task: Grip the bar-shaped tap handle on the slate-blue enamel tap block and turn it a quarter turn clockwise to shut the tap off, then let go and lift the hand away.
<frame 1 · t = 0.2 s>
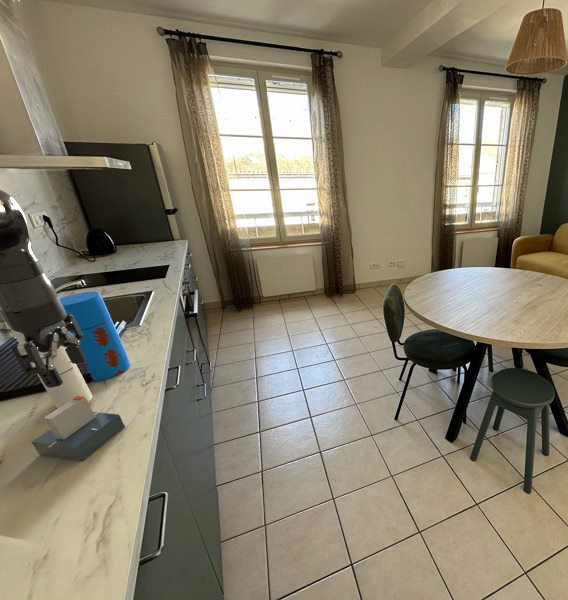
hand: (68, 373, 67), 20 cm above the worktop, tool pointing down, fingers open, 8 cm apart
thermos: (110, 371, 103), on the worktop
tap handle: (70, 416, 74), point 7 cm above the worktop, hinge at 90.0°
tap block: (84, 440, 77), on the worktop
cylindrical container: (76, 403, 90), on the worktop
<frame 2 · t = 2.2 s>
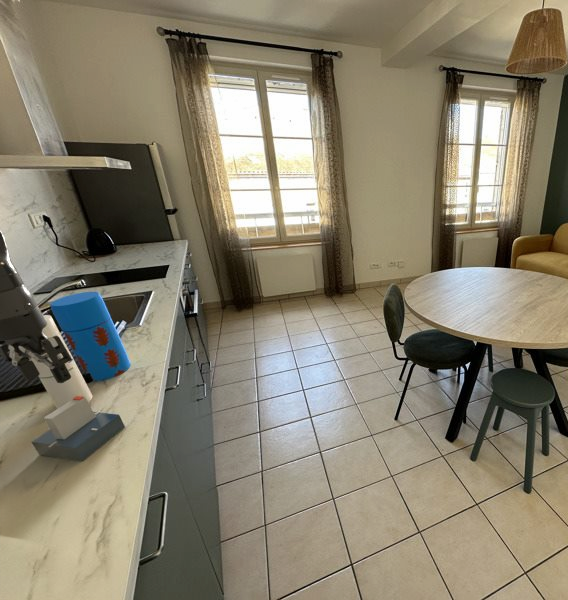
hand: (49, 379, 70), 18 cm above the worktop, tool pointing down, fingers open, 8 cm apart
nothing on the worktop moved.
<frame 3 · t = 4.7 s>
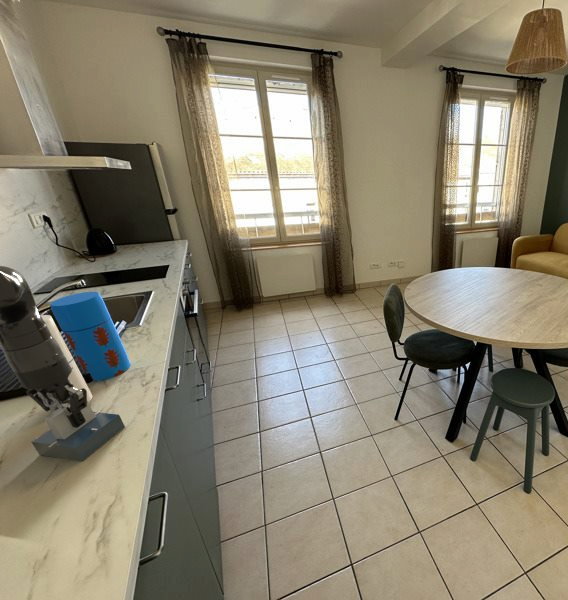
hand: (75, 424, 75), 5 cm above the worktop, tool pointing down, fingers closed on tap handle, 2 cm apart
tap handle: (70, 416, 74), point 7 cm above the worktop, hinge at 90.0°, touching gripper
everything else where it was.
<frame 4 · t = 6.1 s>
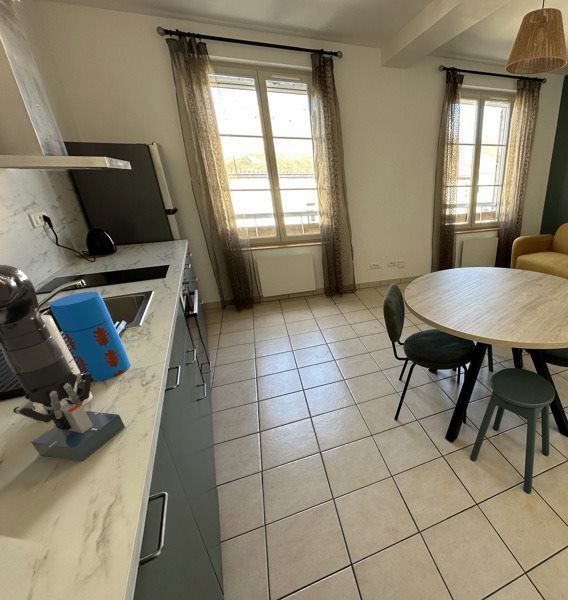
hand: (73, 423, 75), 5 cm above the worktop, tool pointing down, fingers closed on tap handle, 2 cm apart
tap handle: (70, 416, 74), point 7 cm above the worktop, hinge at -4.2°, touching gripper
everything else where it was.
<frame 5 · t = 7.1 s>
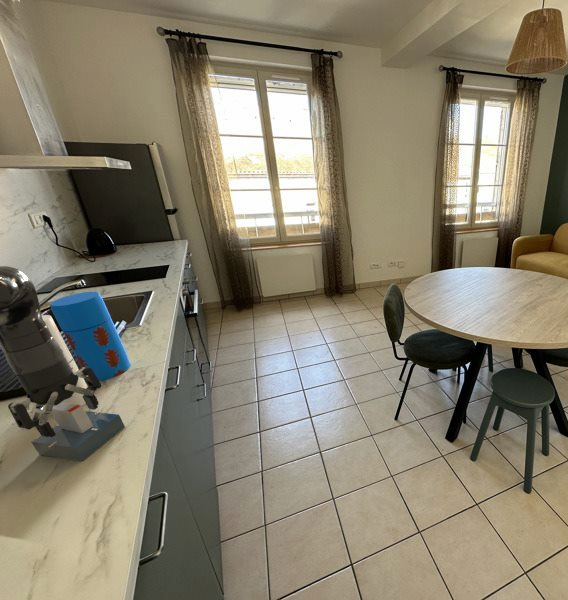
hand: (73, 421, 74), 6 cm above the worktop, tool pointing down, fingers open, 8 cm apart
tap handle: (70, 416, 74), point 7 cm above the worktop, hinge at -4.1°
everything else where it was.
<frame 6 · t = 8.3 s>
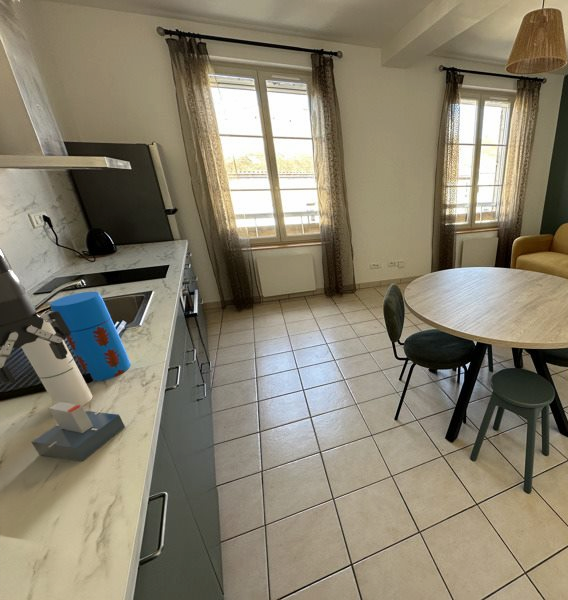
hand: (37, 369, 67), 21 cm above the worktop, tool pointing down, fingers open, 8 cm apart
nothing on the worktop moved.
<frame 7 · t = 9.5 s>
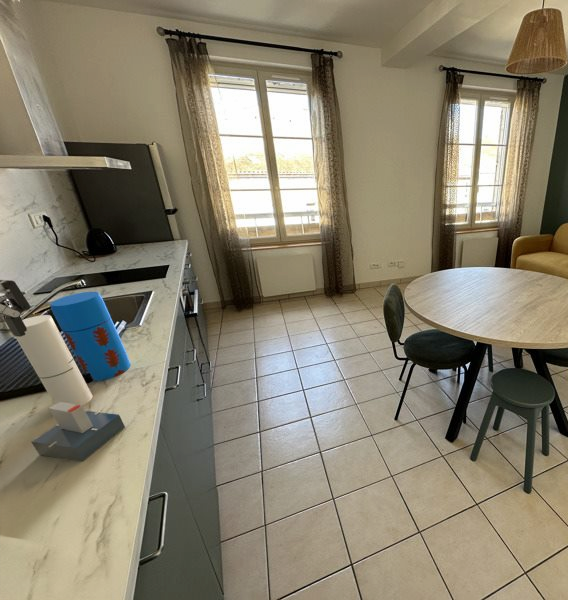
nothing on the worktop moved.
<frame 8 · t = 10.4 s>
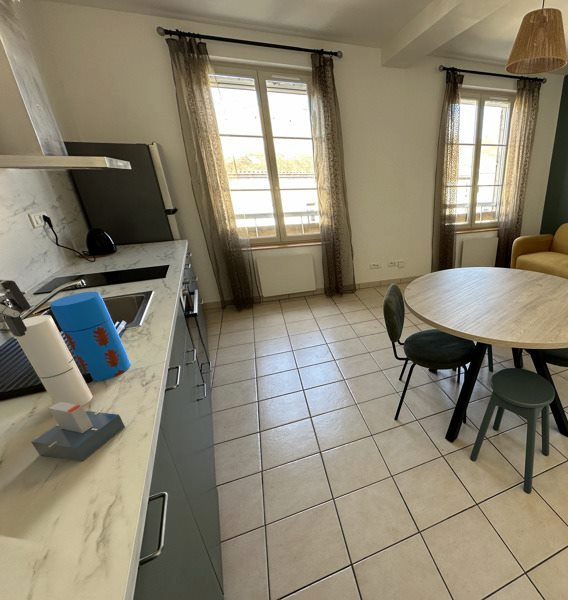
nothing on the worktop moved.
at the end: tap handle at -4° (first picture: +90°); the gripper is holding nothing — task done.
